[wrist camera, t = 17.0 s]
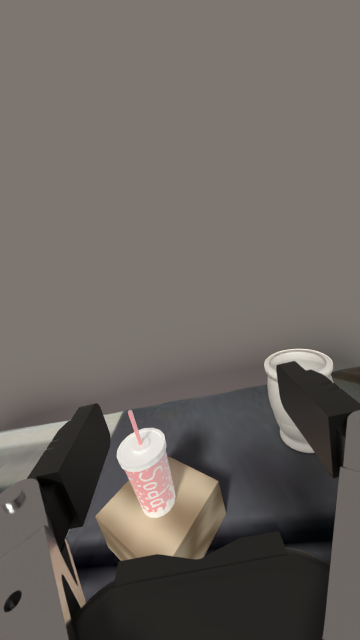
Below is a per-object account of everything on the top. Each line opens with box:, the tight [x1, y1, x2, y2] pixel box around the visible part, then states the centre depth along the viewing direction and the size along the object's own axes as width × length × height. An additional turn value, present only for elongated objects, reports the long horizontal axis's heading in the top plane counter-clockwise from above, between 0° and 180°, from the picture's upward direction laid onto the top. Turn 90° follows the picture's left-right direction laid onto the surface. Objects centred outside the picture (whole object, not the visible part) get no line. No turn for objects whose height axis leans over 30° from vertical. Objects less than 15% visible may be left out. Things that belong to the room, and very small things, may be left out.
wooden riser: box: [95, 456, 226, 561], centre depth 33 cm, size 12×12×6 cm
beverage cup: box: [117, 410, 176, 518], centre depth 31 cm, size 6×6×14 cm
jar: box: [264, 349, 333, 453], centre depth 42 cm, size 11×10×15 cm
